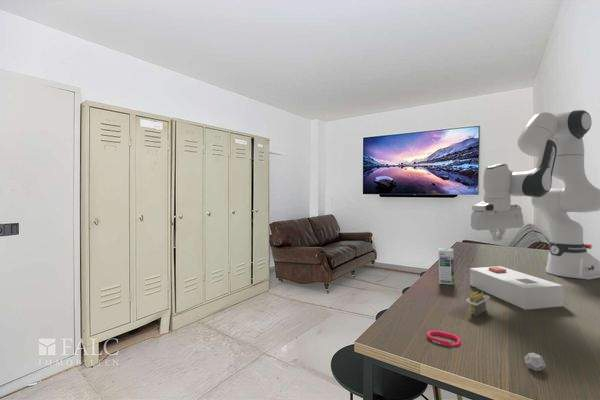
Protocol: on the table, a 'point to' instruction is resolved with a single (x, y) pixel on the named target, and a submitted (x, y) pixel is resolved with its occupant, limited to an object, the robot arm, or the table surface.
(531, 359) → the grey irregular lump
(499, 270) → the red plug
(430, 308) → the table surface
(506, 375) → the table surface
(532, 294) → the block
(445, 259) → the syrup box
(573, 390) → the table surface
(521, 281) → the gray rectangular block
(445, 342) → the fitness band
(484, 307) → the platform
